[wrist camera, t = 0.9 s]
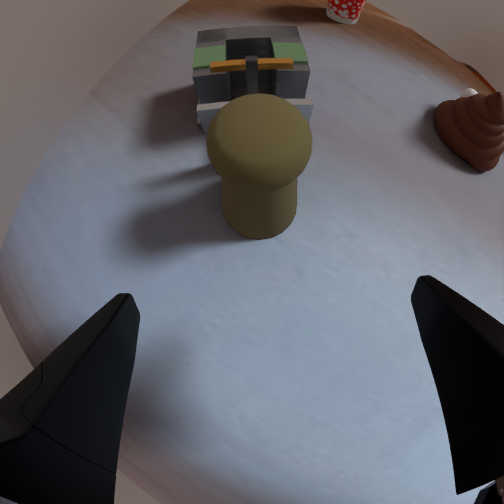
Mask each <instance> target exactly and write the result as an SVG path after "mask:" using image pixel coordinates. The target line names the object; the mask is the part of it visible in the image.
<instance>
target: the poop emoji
mask: <svg viewBox="0 0 504 504" xmlns="http://www.w3.org/2000/svg"><path fill="white" fill-rule="evenodd" d="M434 118H435V125H436V128H437V130H438V133H439V135H440V136H441V138H442V140H443V141H444V142H445V144H446V145H447V146H448V147H449V148H450V149H451V150H452V151H453V152H455V153H456V154H457V155H459V156H461V157H462V158H464V159H466V160H467V161H468V162H469V163H470V164H471V165H472V166H473V167H474V168H476V169H478V170H481V171H489V170H491V169H493V168H494V167H495V166H496V165H497V163H498V161H499V157H500V155H501V154H502V153H503V151H504V95H503V94H502V93H501V92H497V93H493V94H490V95H488V96H485V95H483V94H478V93H477V92H476V91H475V90H474V89H471V88H467V89H465V90H464V91H463V92H462V94H461V98H458V99H457V100H448V101H444V102H442V103H440V104H439V105H438V107H437V108H436V111H435V116H434Z"/></svg>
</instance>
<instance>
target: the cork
mask: <svg viewBox="0 0 504 504" xmlns="http://www.w3.org/2000/svg"><path fill="white" fill-rule="evenodd" d="M206 143H207V153H208V156H209V159H210V161H211V163H212V165H213V167H214V169H215V171H216V172H217V173H218V174H219V175H220V176H221V177H222V208H223V215H224V217H225V219H226V221H227V223H228V225H230V226H231V227H232V228H233V229H234V230H235V231H236V232H237V233H239V234H241V235H243V236H245V237H247V238H251V239H257V240H262V239H268V238H273V237H275V236H277V235H279V234H281V233H282V232H283V231H284V230H285V229H286V228H288V227H289V226H290V225H291V223H292V221H293V219H294V217H295V215H296V208H297V177H298V176H299V175H300V174H301V173H302V172H303V171H304V169H305V167H306V165H307V163H308V161H309V158H310V156H311V151H312V134H311V131H310V128H309V124H308V121H307V120H306V119H305V117H304V116H303V115H302V113H301V112H300V111H299V110H298V109H297V108H296V107H295V106H294V105H292V104H291V103H290V102H288V101H287V100H285V99H283V98H280V97H277V96H274V95H270V94H261V93H257V94H249V95H244V96H241V97H238V98H236V99H233V100H231V101H230V102H229V103H227V104H226V105H225V106H223V107H222V108H221V109H220V110H219V111H218V112H217V114H216V115H215V117H214V118H213V119H212V121H211V122H210V126H209V129H208V133H207V138H206Z"/></svg>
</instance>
